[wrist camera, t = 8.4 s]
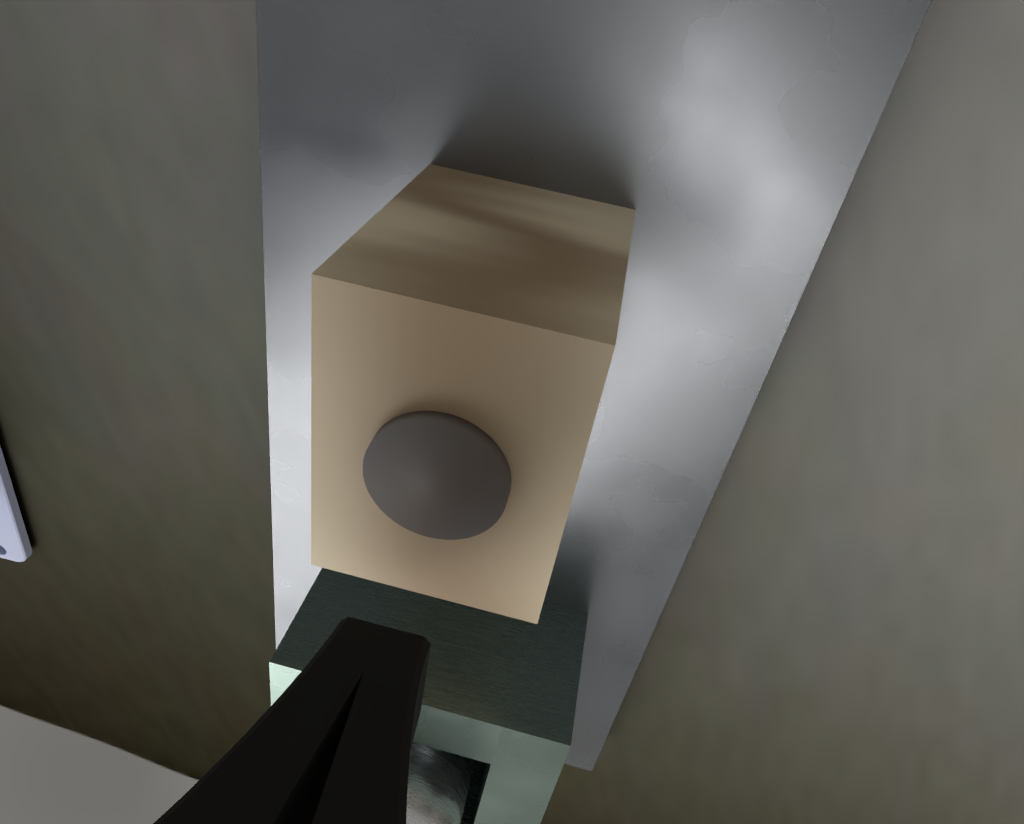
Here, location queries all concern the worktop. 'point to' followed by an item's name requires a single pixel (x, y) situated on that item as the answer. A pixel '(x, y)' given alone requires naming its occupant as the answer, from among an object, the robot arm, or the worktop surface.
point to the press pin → (437, 786)
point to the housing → (461, 385)
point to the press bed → (644, 311)
